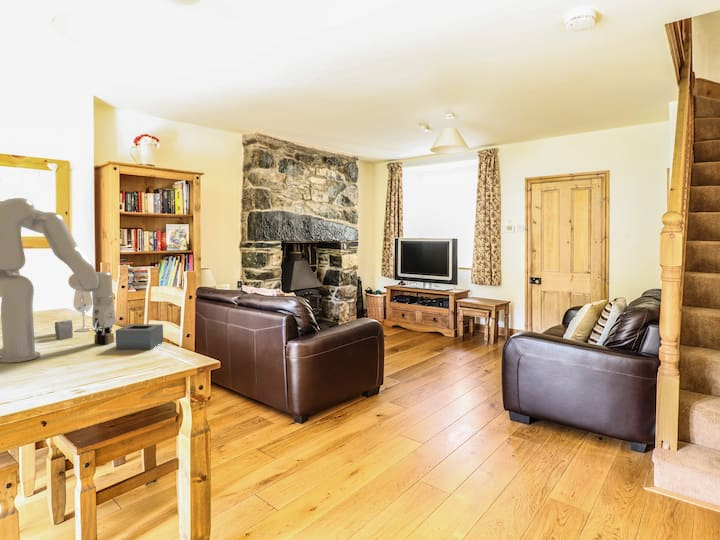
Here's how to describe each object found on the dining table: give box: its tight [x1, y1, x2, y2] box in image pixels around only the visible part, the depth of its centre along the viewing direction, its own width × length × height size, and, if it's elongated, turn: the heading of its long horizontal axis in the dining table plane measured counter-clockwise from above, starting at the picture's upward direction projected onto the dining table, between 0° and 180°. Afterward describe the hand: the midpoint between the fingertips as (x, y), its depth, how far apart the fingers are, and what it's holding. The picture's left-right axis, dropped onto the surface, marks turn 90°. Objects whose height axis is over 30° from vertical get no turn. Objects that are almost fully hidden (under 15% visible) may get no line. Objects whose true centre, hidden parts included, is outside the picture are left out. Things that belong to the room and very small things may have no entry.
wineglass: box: [72, 290, 94, 333], centre depth 219 cm, size 8×8×20 cm
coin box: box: [115, 323, 164, 351], centre depth 190 cm, size 14×12×8 cm
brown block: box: [93, 332, 115, 345], centre depth 194 cm, size 6×4×4 cm, turn 90°
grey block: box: [54, 319, 74, 341], centre depth 203 cm, size 7×9×8 cm
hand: (104, 342), depth 194 cm, fingers closed on brown block, 3 cm apart
